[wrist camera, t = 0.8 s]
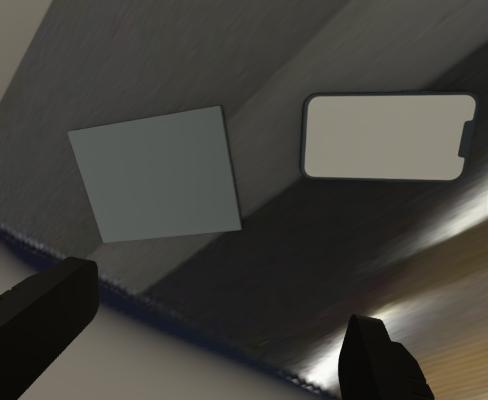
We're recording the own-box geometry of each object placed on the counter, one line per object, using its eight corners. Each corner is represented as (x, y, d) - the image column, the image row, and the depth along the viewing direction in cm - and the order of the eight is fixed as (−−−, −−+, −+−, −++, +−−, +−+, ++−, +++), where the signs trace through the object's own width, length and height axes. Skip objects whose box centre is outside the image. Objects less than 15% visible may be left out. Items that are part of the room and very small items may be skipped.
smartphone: (298, 177, 32) (454, 181, 30) (299, 180, 30) (464, 185, 28) (303, 93, 29) (473, 91, 27) (304, 91, 28) (484, 89, 26)
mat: (221, 105, 31) (220, 105, 30) (242, 226, 34) (241, 229, 34) (73, 131, 34) (67, 131, 33) (108, 239, 38) (103, 242, 37)
